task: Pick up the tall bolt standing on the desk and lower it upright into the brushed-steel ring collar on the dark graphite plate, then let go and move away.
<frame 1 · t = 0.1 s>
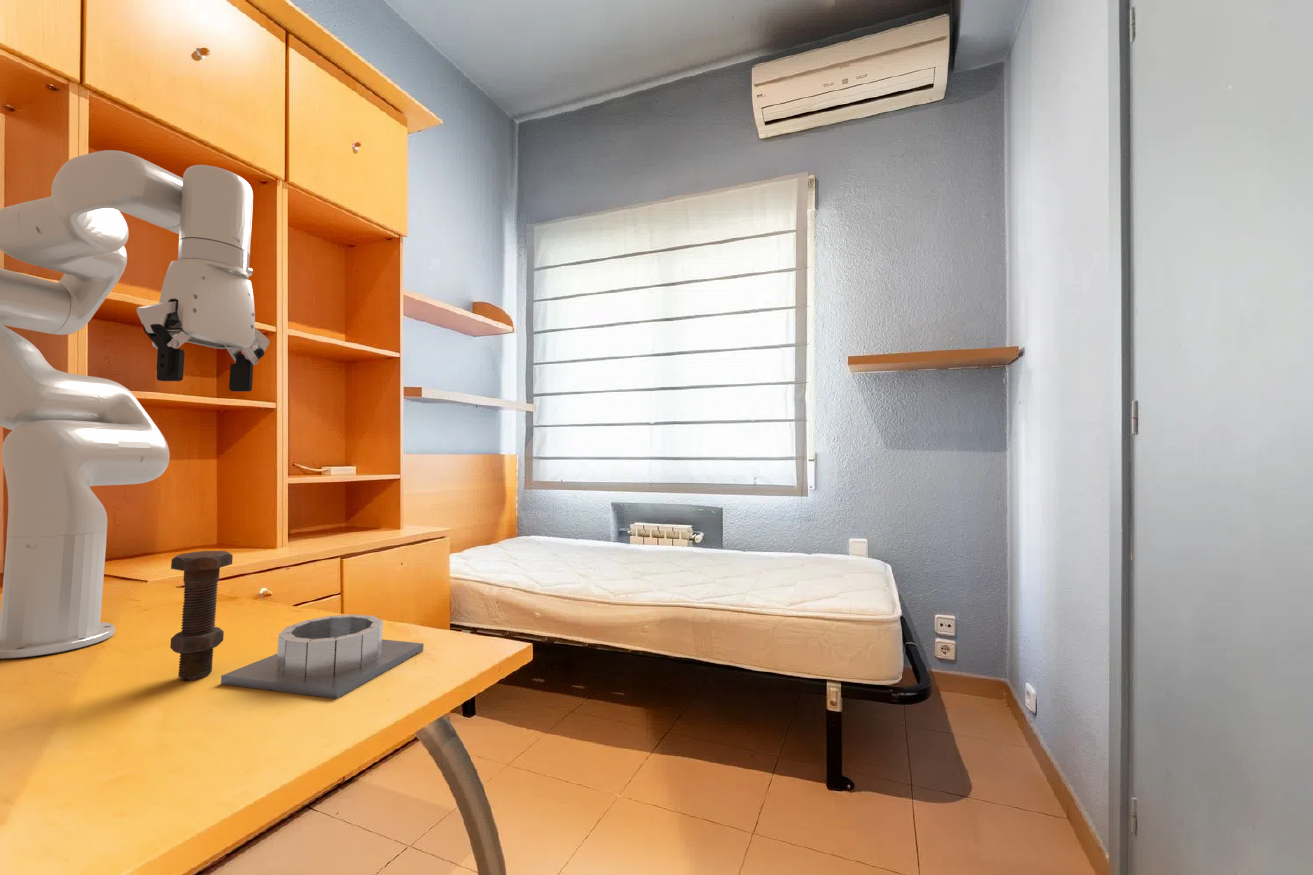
hand: (207, 386, 72), 37 cm above the table, tool pointing down, fingers open, 9 cm apart
bolt: (195, 678, 66), on the table
ring fixture: (331, 665, 70), on the table
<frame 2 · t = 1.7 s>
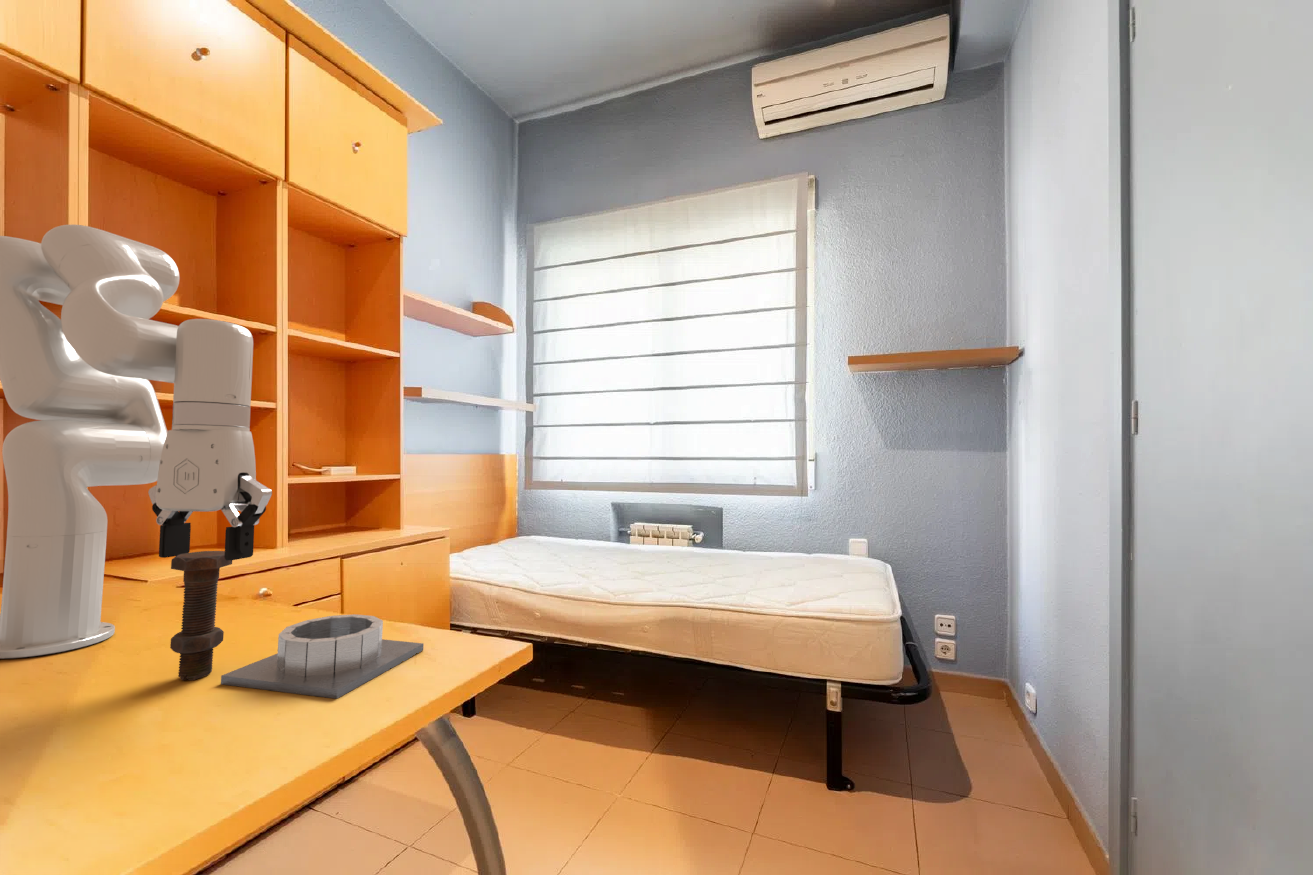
hand: (206, 557, 66), 15 cm above the table, tool pointing down, fingers open, 9 cm apart
nothing on the table moved.
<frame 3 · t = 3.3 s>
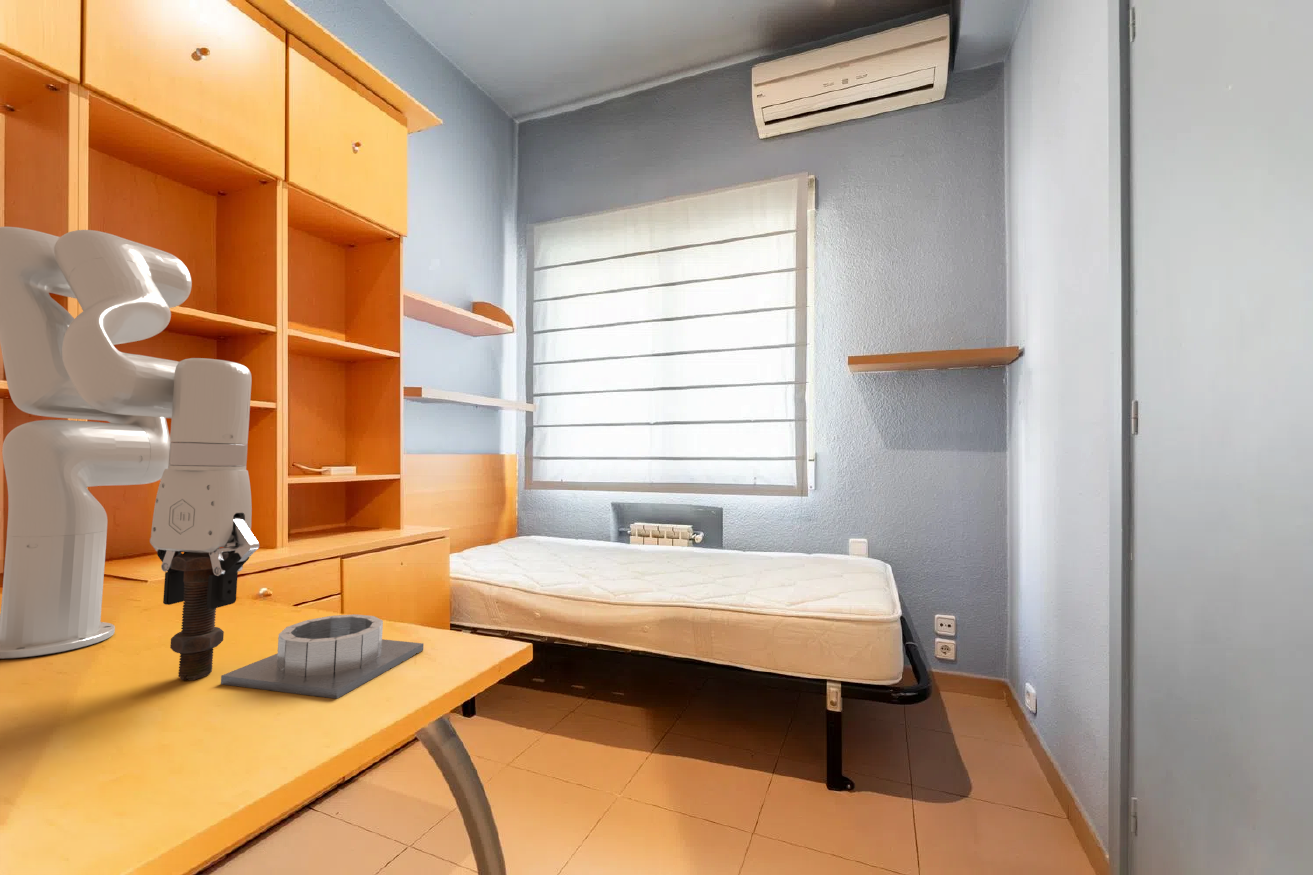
hand: (200, 602, 66), 9 cm above the table, tool pointing down, fingers closed on bolt, 5 cm apart
bolt: (195, 678, 66), on the table, touching gripper
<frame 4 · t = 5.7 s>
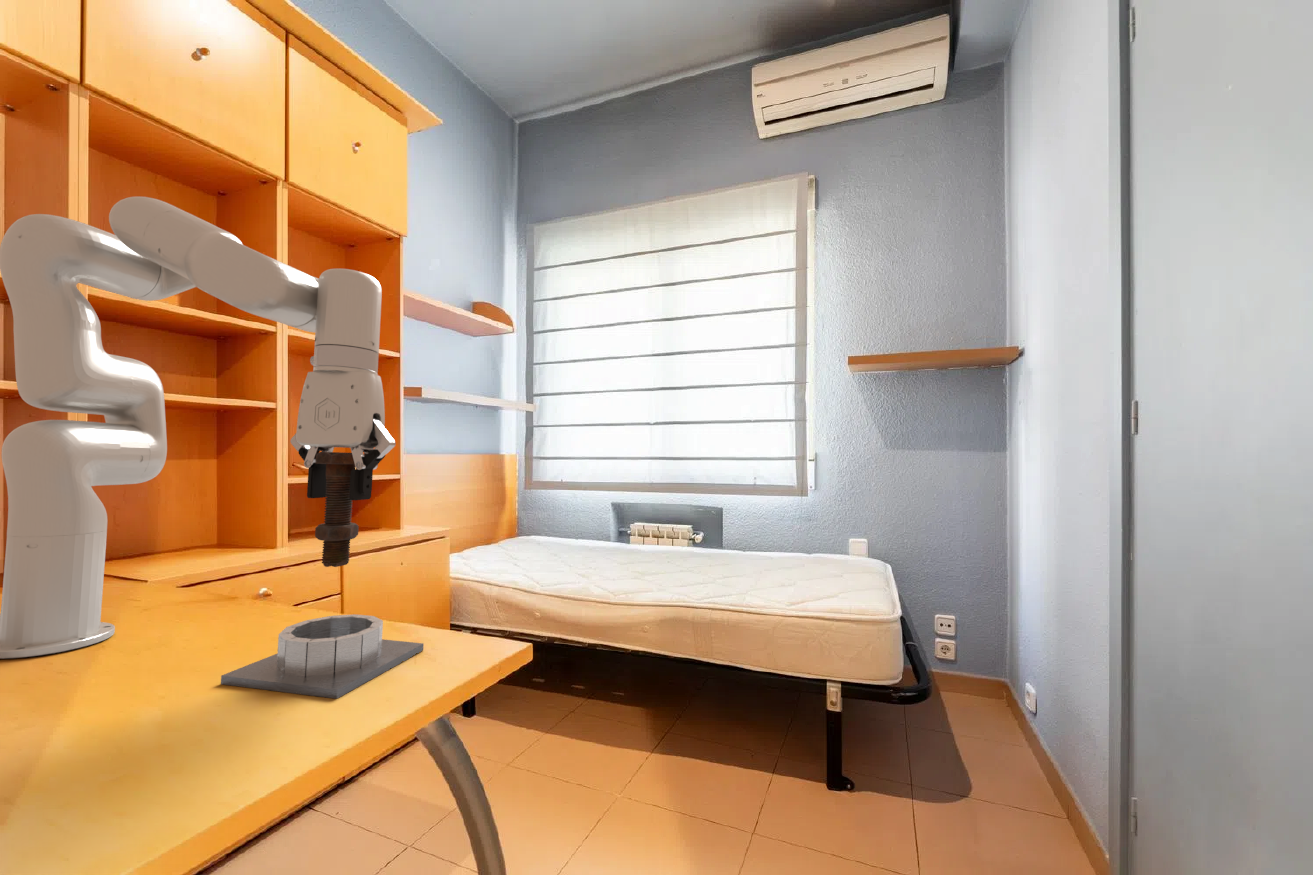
hand: (339, 497, 71), 22 cm above the table, tool pointing down, fingers closed on bolt, 5 cm apart
bolt: (335, 566, 71), point 13 cm above the table, touching gripper
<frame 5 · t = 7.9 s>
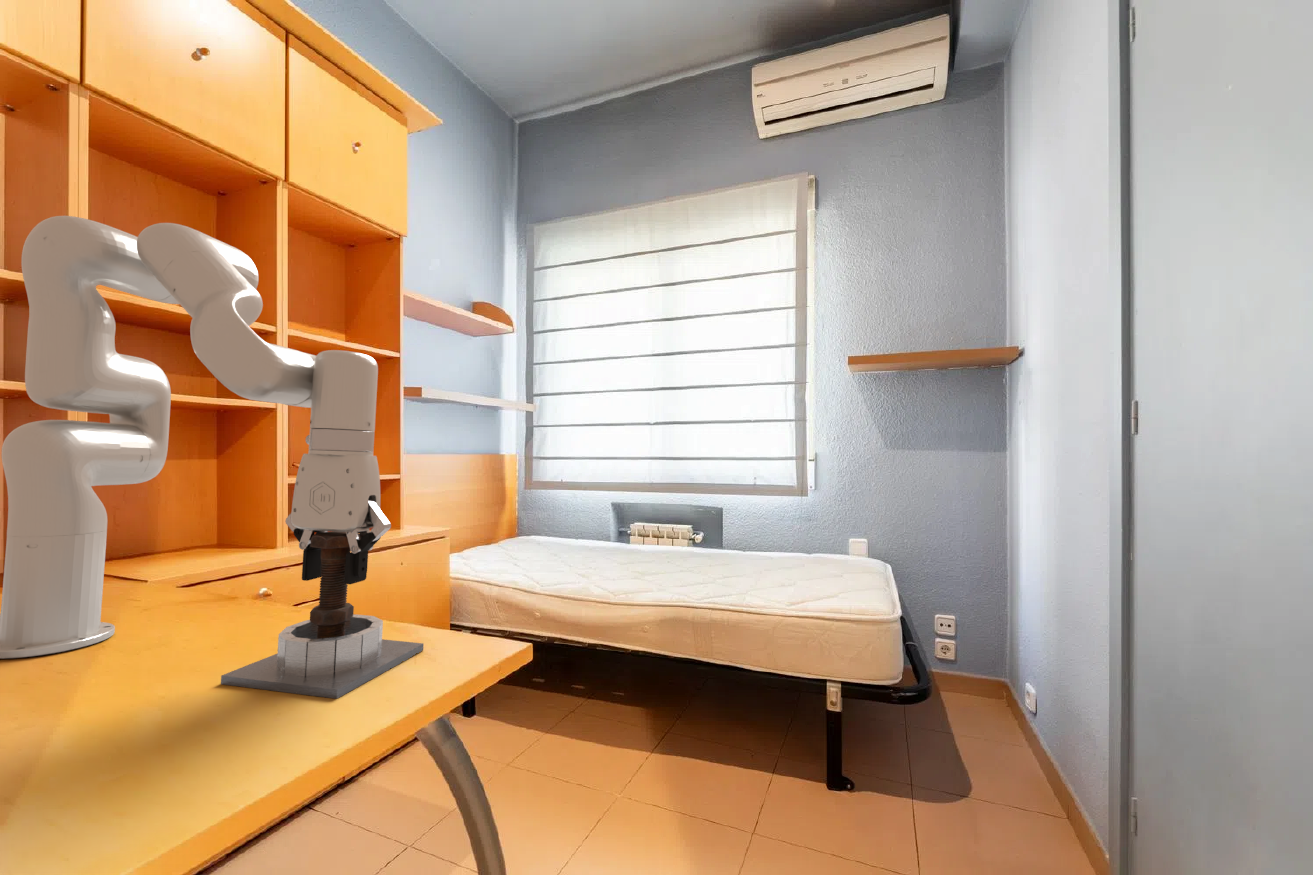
hand: (334, 578, 71), 11 cm above the table, tool pointing down, fingers closed on bolt, 5 cm apart
bolt: (330, 649, 70), point 2 cm above the table, touching gripper
when the fingers open (11 cm above the table, at t = 8.4 s): bolt drops 1 cm, resting on ring fixture.
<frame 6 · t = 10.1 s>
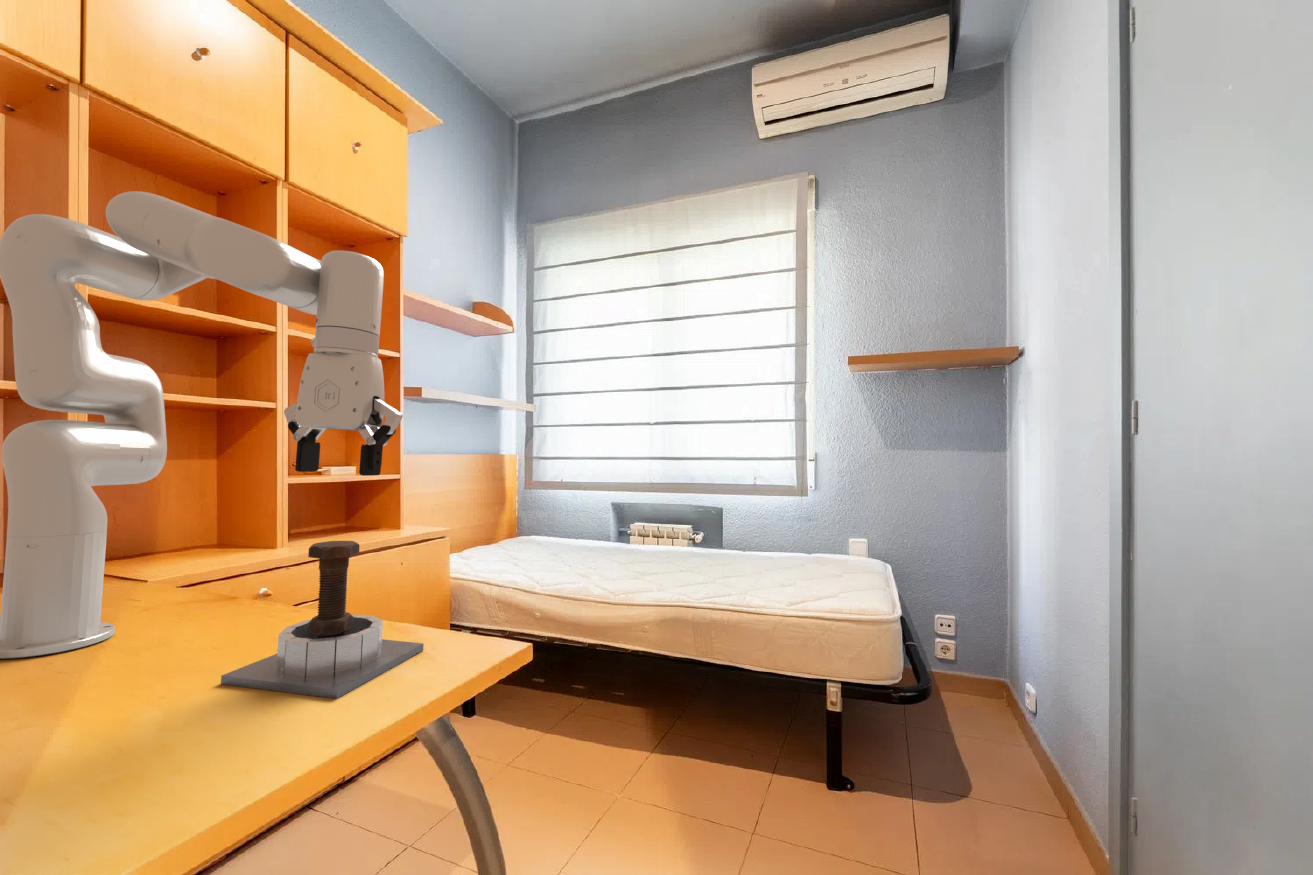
hand: (338, 473, 71), 25 cm above the table, tool pointing down, fingers open, 9 cm apart
bolt: (329, 659, 70), point 1 cm above the table, touching ring fixture
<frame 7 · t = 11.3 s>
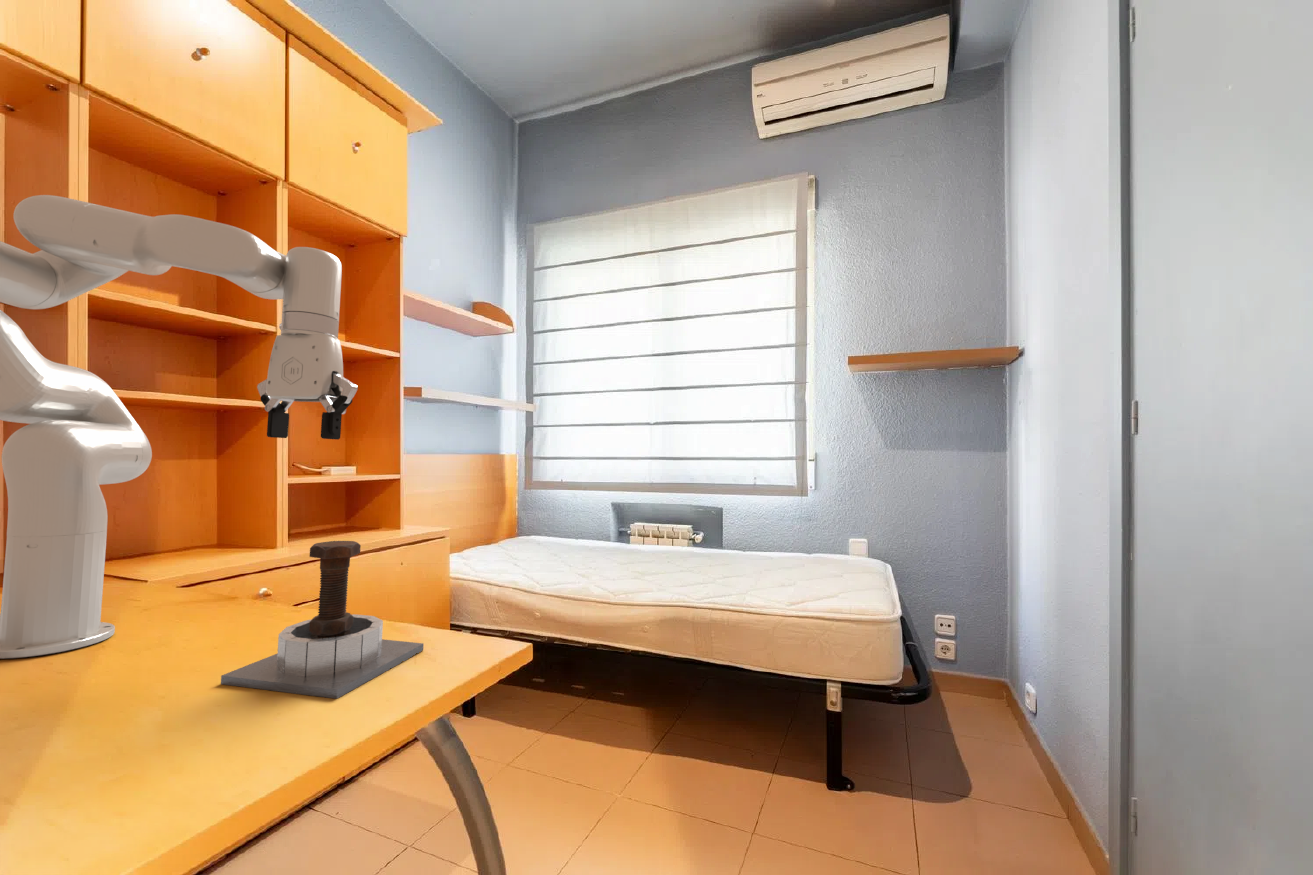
hand: (303, 438, 83), 30 cm above the table, tool pointing down, fingers open, 9 cm apart
nothing on the table moved.
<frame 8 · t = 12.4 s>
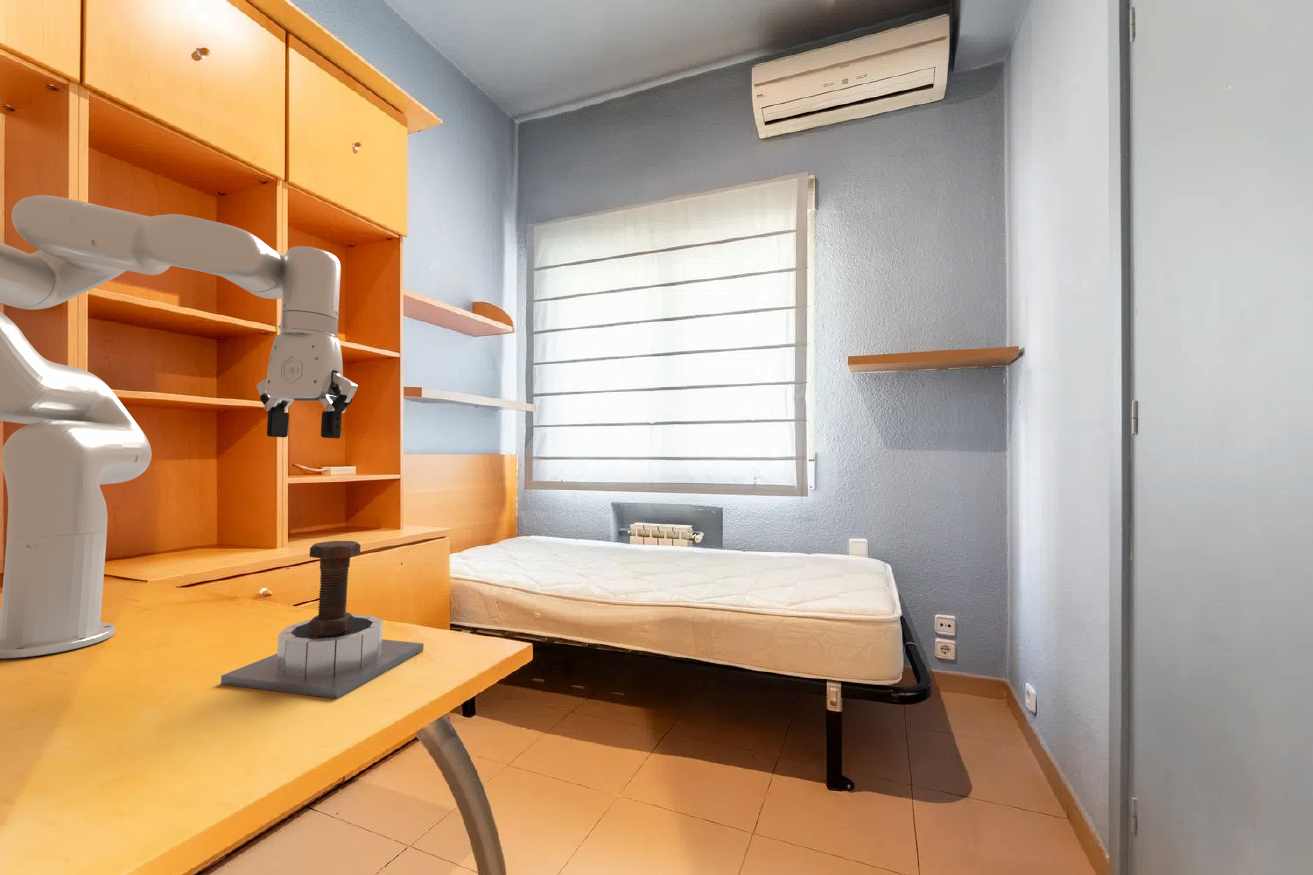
hand: (303, 437, 83), 30 cm above the table, tool pointing down, fingers open, 9 cm apart
nothing on the table moved.
at the end: bolt 0.2 cm off-centre on the ring fixture, point 0.8 cm above the ring fixture's base; bolt tilted 0°; the gripper is holding nothing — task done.
